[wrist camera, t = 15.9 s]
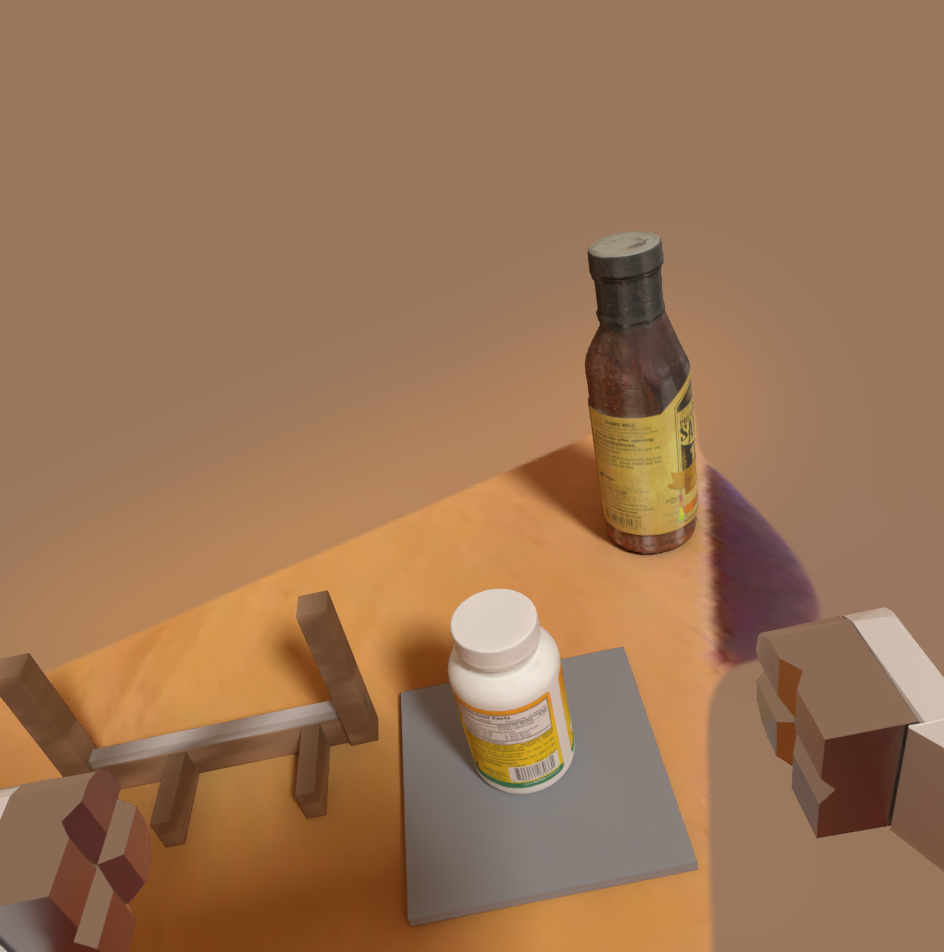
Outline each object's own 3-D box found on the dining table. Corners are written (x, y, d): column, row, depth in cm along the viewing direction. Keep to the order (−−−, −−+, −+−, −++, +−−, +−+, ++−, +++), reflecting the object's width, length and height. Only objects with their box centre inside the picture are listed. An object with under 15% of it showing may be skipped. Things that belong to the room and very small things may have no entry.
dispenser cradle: (58, 868, 42) (-47, 749, 37) (89, 777, 47) (0, 659, 41) (378, 803, 42) (321, 673, 36) (378, 718, 46) (327, 590, 41)
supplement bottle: (544, 815, 39) (512, 681, 34) (453, 772, 42) (410, 643, 36) (594, 729, 42) (572, 595, 37) (507, 695, 45) (475, 566, 40)
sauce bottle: (711, 549, 53) (701, 253, 41) (614, 566, 53) (579, 277, 42) (684, 490, 58) (669, 214, 47) (596, 506, 58) (561, 236, 47)
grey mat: (411, 926, 36) (407, 919, 36) (403, 699, 47) (400, 692, 47) (697, 869, 36) (697, 862, 36) (624, 653, 47) (623, 646, 47)
